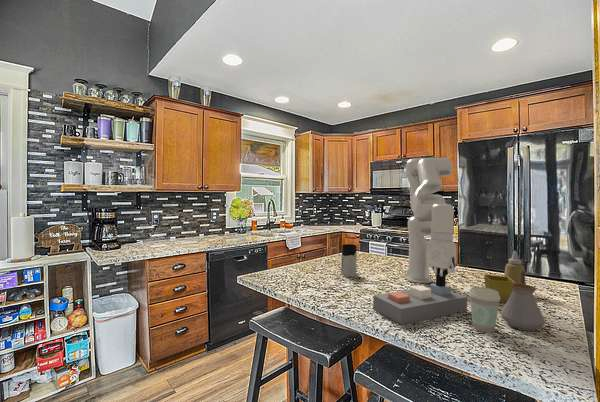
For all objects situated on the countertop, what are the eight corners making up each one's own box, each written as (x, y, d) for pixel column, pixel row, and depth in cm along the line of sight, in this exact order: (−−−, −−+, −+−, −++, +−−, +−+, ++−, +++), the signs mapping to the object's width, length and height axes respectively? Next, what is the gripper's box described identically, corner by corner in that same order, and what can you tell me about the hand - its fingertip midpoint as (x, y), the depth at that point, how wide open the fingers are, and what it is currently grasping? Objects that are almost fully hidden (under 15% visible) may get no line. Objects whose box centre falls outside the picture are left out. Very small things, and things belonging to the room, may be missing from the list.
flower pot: (507, 298, 123) (508, 276, 123) (515, 305, 115) (515, 282, 114) (483, 295, 126) (483, 274, 126) (488, 302, 117) (489, 279, 117)
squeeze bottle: (529, 296, 126) (530, 253, 126) (508, 294, 128) (509, 252, 127) (519, 290, 134) (520, 250, 134) (499, 288, 136) (500, 249, 135)
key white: (409, 300, 110) (410, 286, 109) (419, 298, 112) (420, 285, 112) (420, 304, 105) (420, 290, 105) (430, 303, 107) (431, 289, 107)
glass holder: (358, 276, 153) (359, 246, 152) (330, 275, 153) (331, 246, 153) (355, 271, 161) (356, 244, 161) (329, 271, 162) (329, 243, 161)
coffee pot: (545, 337, 88) (547, 287, 88) (499, 326, 95) (500, 280, 95) (542, 315, 105) (543, 273, 105) (502, 307, 112) (504, 267, 112)
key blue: (429, 297, 114) (430, 284, 114) (439, 295, 116) (439, 283, 116) (440, 301, 109) (441, 288, 109) (450, 300, 111) (450, 286, 111)
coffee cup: (462, 322, 98) (463, 286, 98) (486, 322, 98) (487, 286, 98) (479, 335, 89) (481, 295, 89) (506, 334, 90) (507, 294, 90)
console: (373, 308, 108) (373, 295, 108) (435, 298, 121) (435, 286, 121) (400, 324, 96) (400, 308, 96) (466, 310, 108) (467, 297, 108)
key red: (388, 307, 106) (388, 293, 105) (399, 305, 108) (399, 291, 107) (398, 312, 101) (398, 297, 101) (409, 310, 103) (409, 296, 103)
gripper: (418, 234, 117) (417, 281, 117) (452, 240, 103) (450, 292, 104) (432, 234, 120) (431, 279, 120) (466, 239, 107) (465, 290, 107)
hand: (440, 285), depth 112 cm, fingers closed
